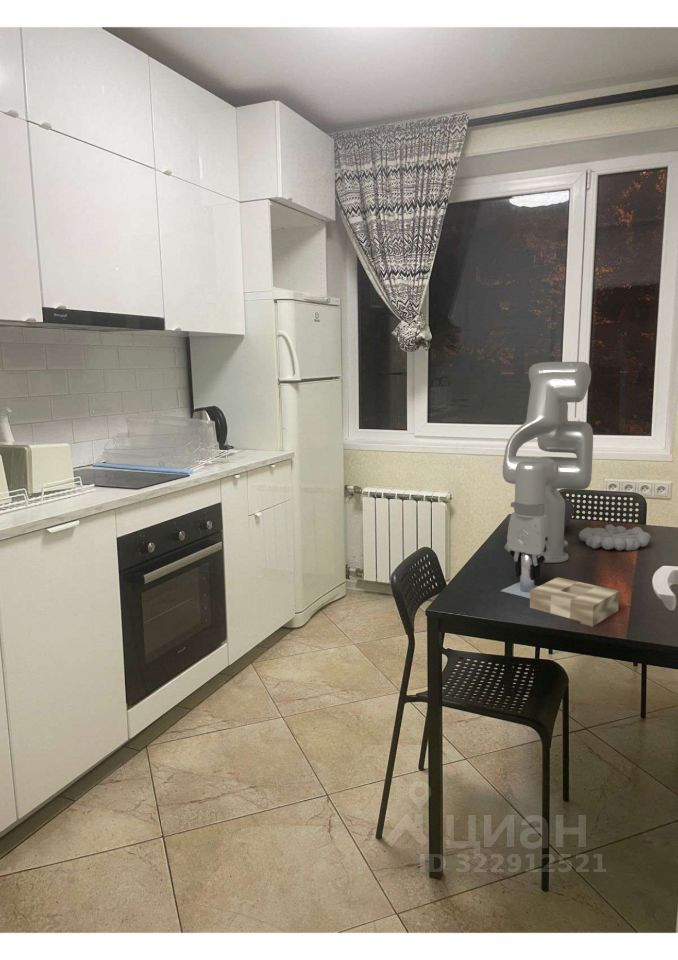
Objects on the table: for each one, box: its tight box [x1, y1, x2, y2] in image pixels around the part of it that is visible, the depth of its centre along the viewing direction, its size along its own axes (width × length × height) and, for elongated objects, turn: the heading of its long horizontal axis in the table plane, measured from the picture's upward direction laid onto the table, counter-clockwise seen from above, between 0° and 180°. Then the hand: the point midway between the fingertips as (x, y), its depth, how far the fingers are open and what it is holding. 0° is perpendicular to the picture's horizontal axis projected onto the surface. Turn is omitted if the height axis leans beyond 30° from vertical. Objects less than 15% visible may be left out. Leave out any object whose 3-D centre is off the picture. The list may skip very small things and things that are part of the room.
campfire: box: [578, 524, 651, 552], centre depth 222 cm, size 22×21×6 cm
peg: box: [519, 553, 535, 593], centre depth 177 cm, size 4×4×12 cm
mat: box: [500, 581, 539, 599], centre depth 178 cm, size 10×10×1 cm
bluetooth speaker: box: [563, 497, 575, 529], centre depth 244 cm, size 23×9×10 cm, turn 154°
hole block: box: [529, 576, 620, 627], centre depth 164 cm, size 14×16×5 cm
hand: (527, 576), depth 177 cm, fingers closed on peg, 3 cm apart
